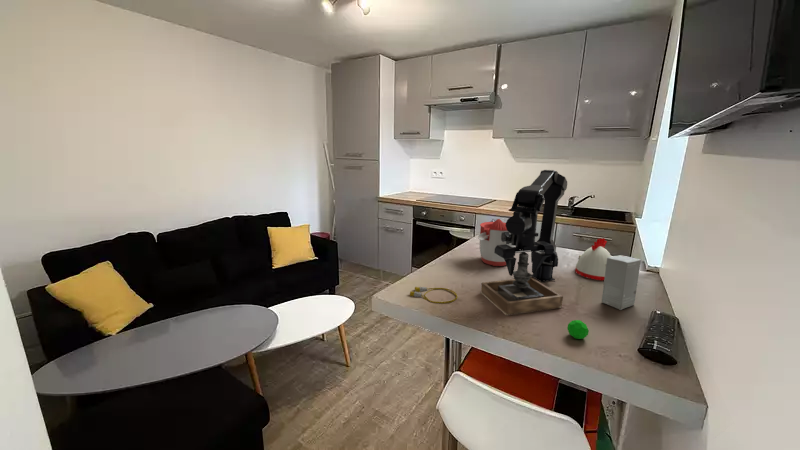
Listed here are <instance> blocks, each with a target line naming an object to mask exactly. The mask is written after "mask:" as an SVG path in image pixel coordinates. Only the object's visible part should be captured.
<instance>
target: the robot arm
mask: <svg viewBox="0 0 800 450" xmlns="http://www.w3.org/2000/svg"><path fill="white" fill-rule="evenodd" d="M567 180H568V179H567V178H566V177H565V176H564V175H562V174H560V173H559V172H558V170H554V169H543V170H540V173H539V175H538V176H537V177H536V179H534V181H533V182H532V183H531V184H529V185H526V186H523V187H521V188H520V189H519V190H518V191H517V192H516V193H515V196H514V199H513V203H512V205H511V208H510V211H511V212H513V214H512V216H510V217H508V219H507V220H506V222H505V223H506V229H507V231H508V232H502V234H501V241H502V242H506V244H509V243H511V245H513V246H515V247H510V246H508V245H506V244H505V245H497V246H496V247H495V252H494V253H495V254H497V255H499V256H500V257H502V258H504V260H505V262H506V265H505V266H506V267H507V271H508V274H509V276H510V277H512V276H514V275H513V272H514V271H515V268H516V267H515V266H516V262H517V258H516V257H515V256H516V254H520V253H522V252H526V253H529V252H530V260H531V273H532V274H531V277H532V278H533V279H535V280H537V281H538V282H540V283H544V282H551V281H553V282H554V281H555V280H556V278H553V275H554V274H553V272H554V268H556V267H558V266H559V257H558V252H557V246H556V244H555V243H556V242H554V238H553V237H554V234H555V233H554V231H555V225H556V219H557V210H558V207H559V206H558V204H559V201H560V200H561V199H562V198H563V197H564V195H565V193H566V192H565V191H566V190H567V188H568V181H567ZM542 208H543V210H542ZM541 211H542V212H543V213H542V217H541V224H540V232H537V224H538V216H539V215H538V213H539V212H541ZM509 233H511V234H509ZM537 237H539V238H538V240H536V238H537Z"/></svg>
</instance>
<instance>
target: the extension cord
mask: <svg viewBox="0 0 800 450" xmlns="http://www.w3.org/2000/svg"><path fill="white" fill-rule="evenodd" d="M436 290H443V291H447V292H449V293H451V294H452V295H455V298H454V299H452V300H447V301H433V300H431V299H430V298H428V297H427V296H426V294H428V293H429V292H431V291H436ZM422 292H425V293H424V294H423V293H422ZM409 296H410V297H414V298H423V300H425V301H429V302H430V303H433V304H450V303H453V302H455V301H456V300H457V299H458V294H457V293H456V291H454V290H452V289H450V288H449V289H448V288H446V287H429V288H428V287H425V286H415V287H414V291H410V292H409Z"/></svg>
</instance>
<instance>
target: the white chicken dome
mask: <svg viewBox="0 0 800 450" xmlns="http://www.w3.org/2000/svg"><path fill="white" fill-rule="evenodd" d="M607 243H608V241H607V240H606V238H603V237H602V238H601V237H600V238H596V241H593V244H592V245H591V247H588V248H587V249H586V250H585V251H583V253H581V254H579V255H578V259H577V262H576V265H575V269H574V271H575V274H577V275H579V276H581V277H583V276H584V278H586V277H587V278H586V279H590V278H591V280H594V279H595V280H596V281H603V280H604V279H605V271H606V263H607V258H608V257H612V255H611V253H610V252H609V251H608V250H607V249H606V248H605V247H606V245H607Z"/></svg>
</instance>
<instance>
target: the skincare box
mask: <svg viewBox="0 0 800 450" xmlns="http://www.w3.org/2000/svg"><path fill="white" fill-rule="evenodd" d="M641 261H642V259H641V258H640V259H639V258H634V257H631V256H626V255H623V254H619V255H612V256H611V257H608V258H607V263H606V271H605V279H604V281H603V288H602V295H601V303H602V304H605V305H608V306H610V307H612V308H615V309H617V310H620V311H622V310H624V309H626V308H629V307H632V306H634V305H635V303H636V295H637V294H636V293H637V288H638V283H639V275H640V267H641V263H642V262H641Z"/></svg>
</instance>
